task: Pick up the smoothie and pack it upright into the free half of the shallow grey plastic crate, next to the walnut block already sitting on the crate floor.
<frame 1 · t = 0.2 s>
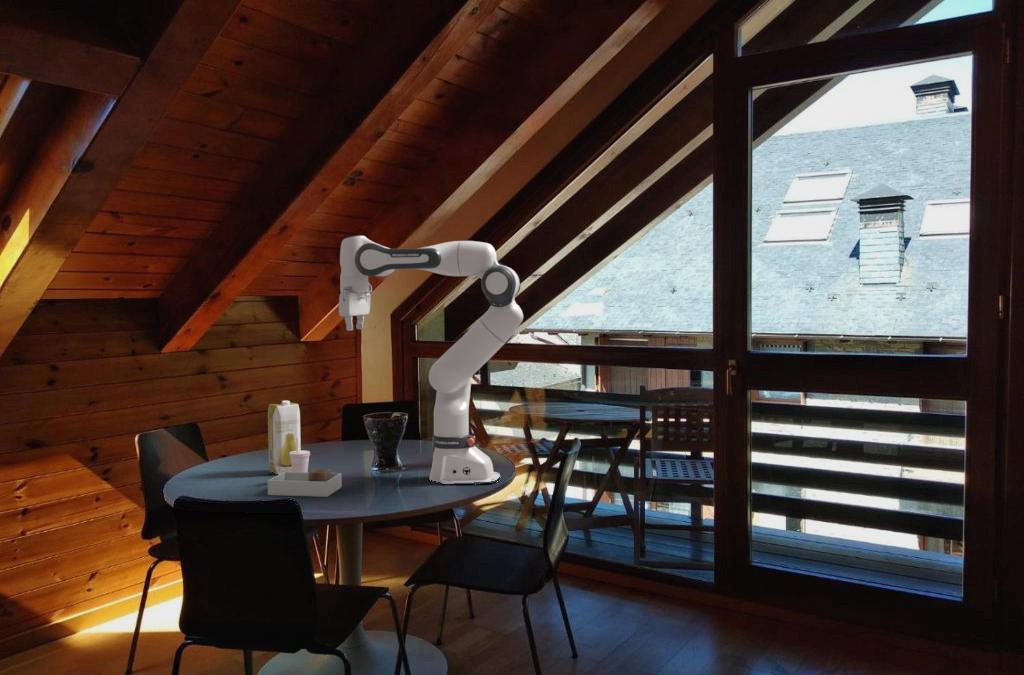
hand: (354, 329, 262), 47 cm above the table, tool pointing down, fingers open, 8 cm apart
smoothie: (300, 483, 256), on the table
crate: (305, 493, 242), on the table
walnut block: (320, 491, 242), point 1 cm above the table, touching crate
juice carton: (285, 472, 272), on the table
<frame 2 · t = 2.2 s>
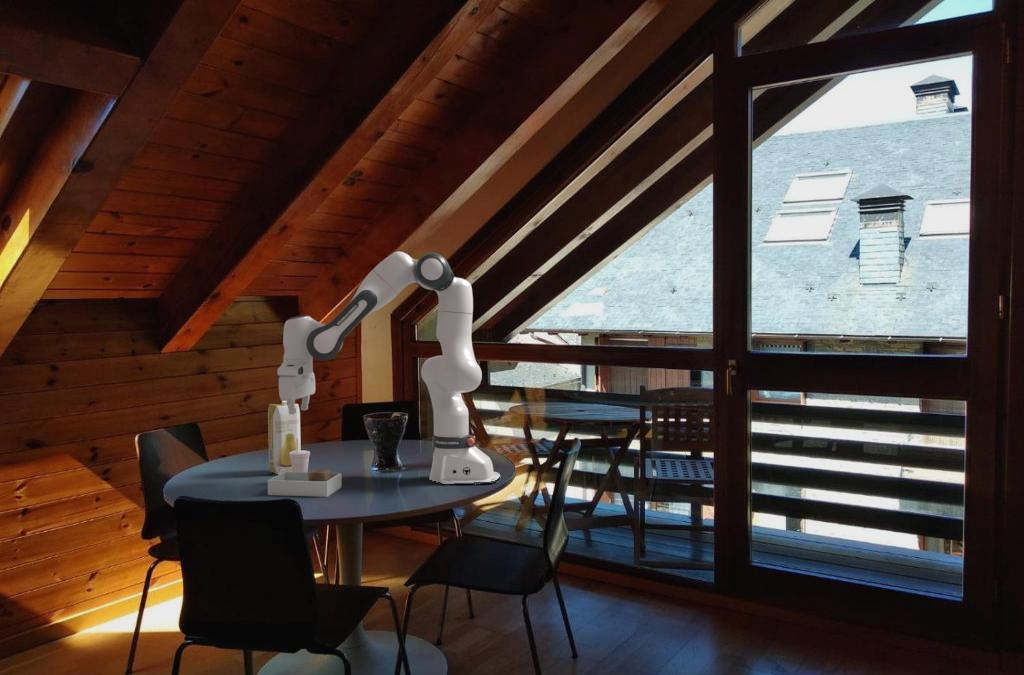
hand: (298, 412, 255), 22 cm above the table, tool pointing down, fingers open, 8 cm apart
nothing on the table moved.
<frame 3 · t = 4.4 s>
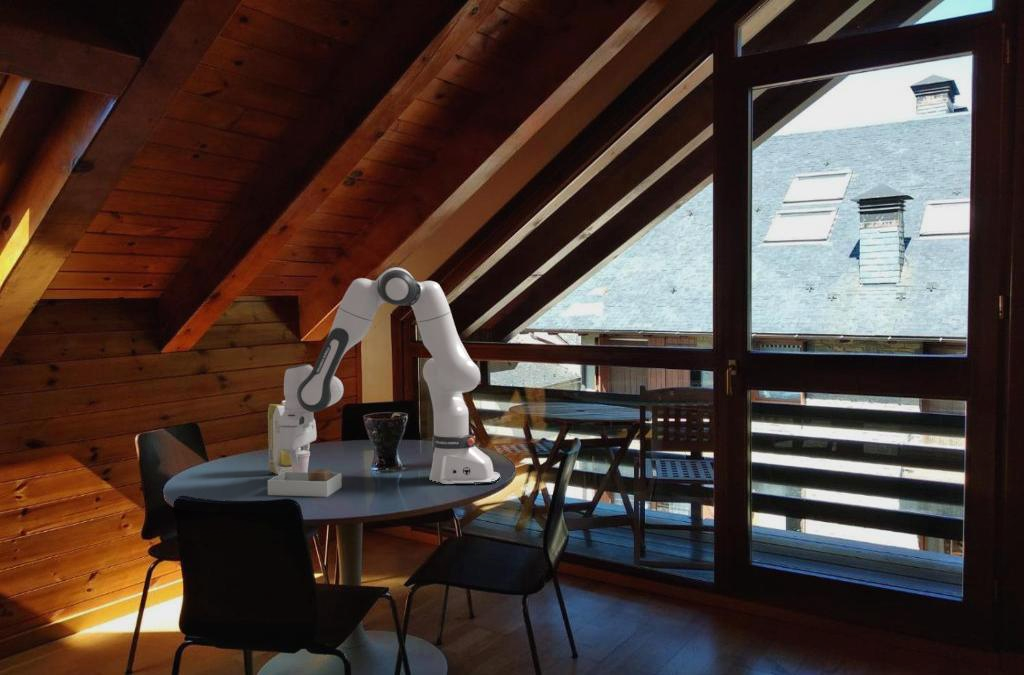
hand: (299, 460, 256), 7 cm above the table, tool pointing down, fingers closed on smoothie, 6 cm apart
smoothie: (300, 483, 256), on the table, touching gripper
everything else where it was.
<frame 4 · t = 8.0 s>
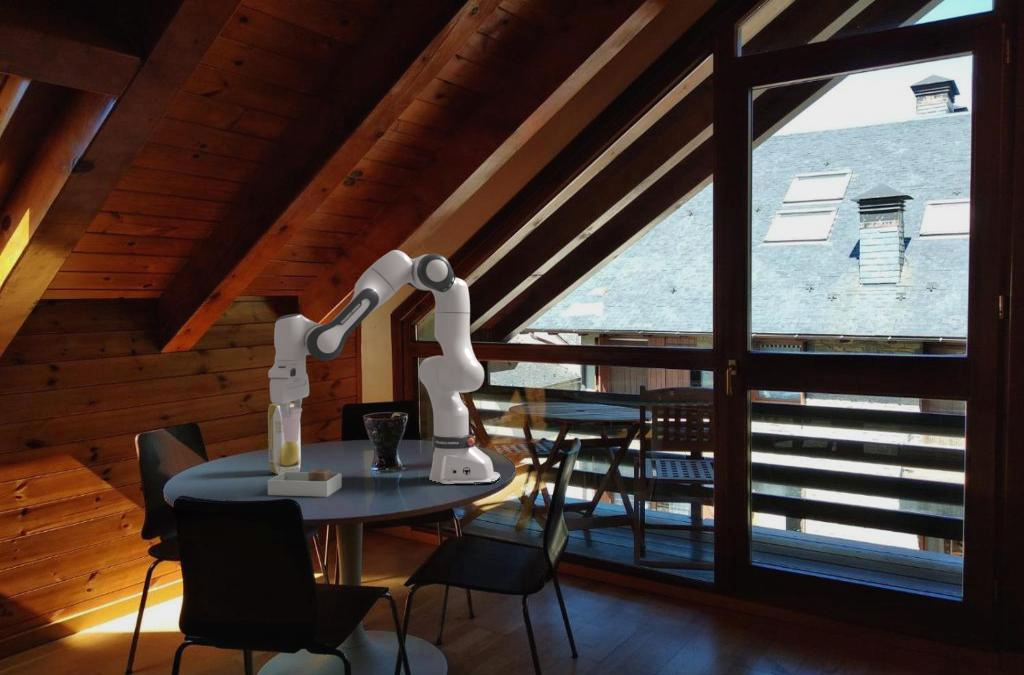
hand: (291, 415, 242), 23 cm above the table, tool pointing down, fingers closed on smoothie, 6 cm apart
smoothie: (291, 441, 242), point 15 cm above the table, touching gripper
everything else where it was.
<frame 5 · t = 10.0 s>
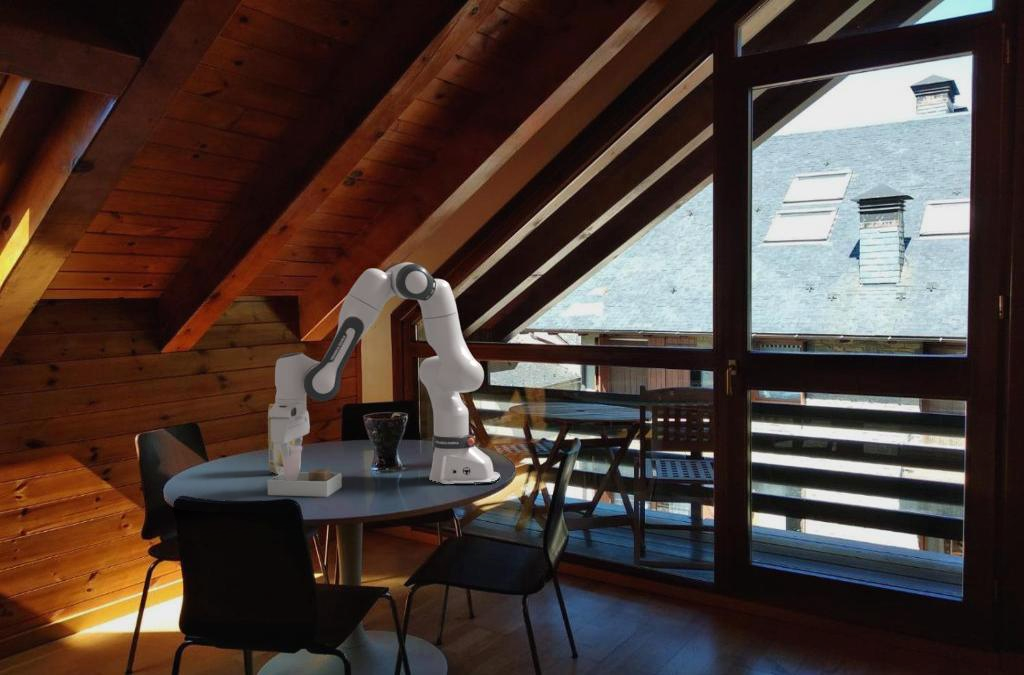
hand: (291, 454, 242), 12 cm above the table, tool pointing down, fingers closed on smoothie, 6 cm apart
smoothie: (291, 479, 242), point 4 cm above the table, touching gripper
everything else where it was.
when the fingers open (9 cm above the table, at t = 11.5 s): smoothie stays where it is, resting on crate.
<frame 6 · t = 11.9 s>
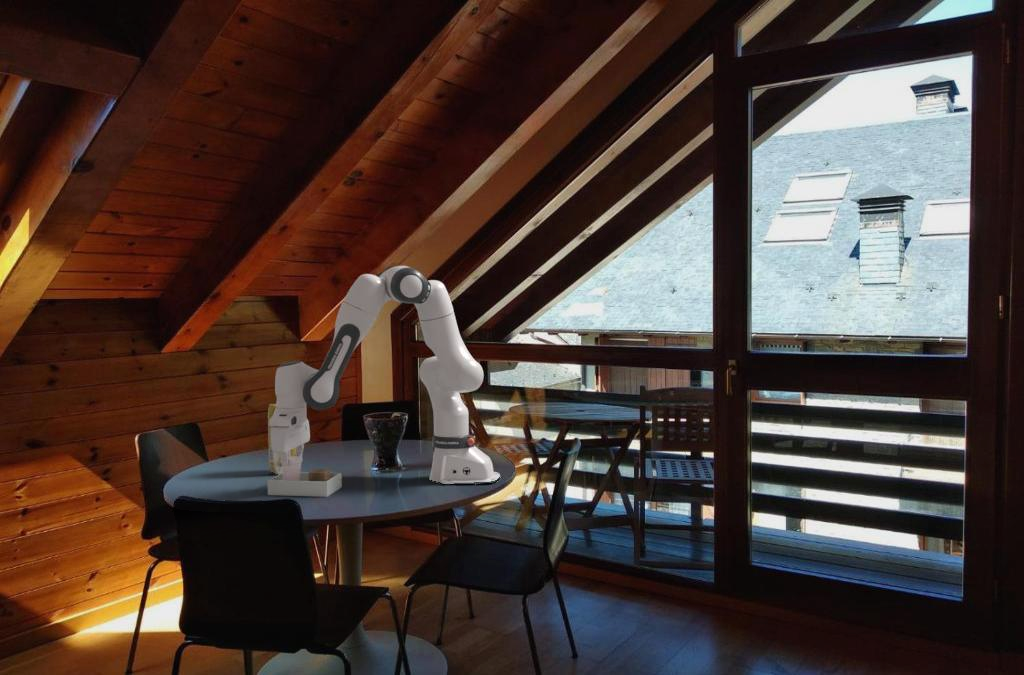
hand: (292, 462, 242), 9 cm above the table, tool pointing down, fingers open, 8 cm apart
smoothie: (292, 491, 243), point 1 cm above the table, touching crate
everything else where it was.
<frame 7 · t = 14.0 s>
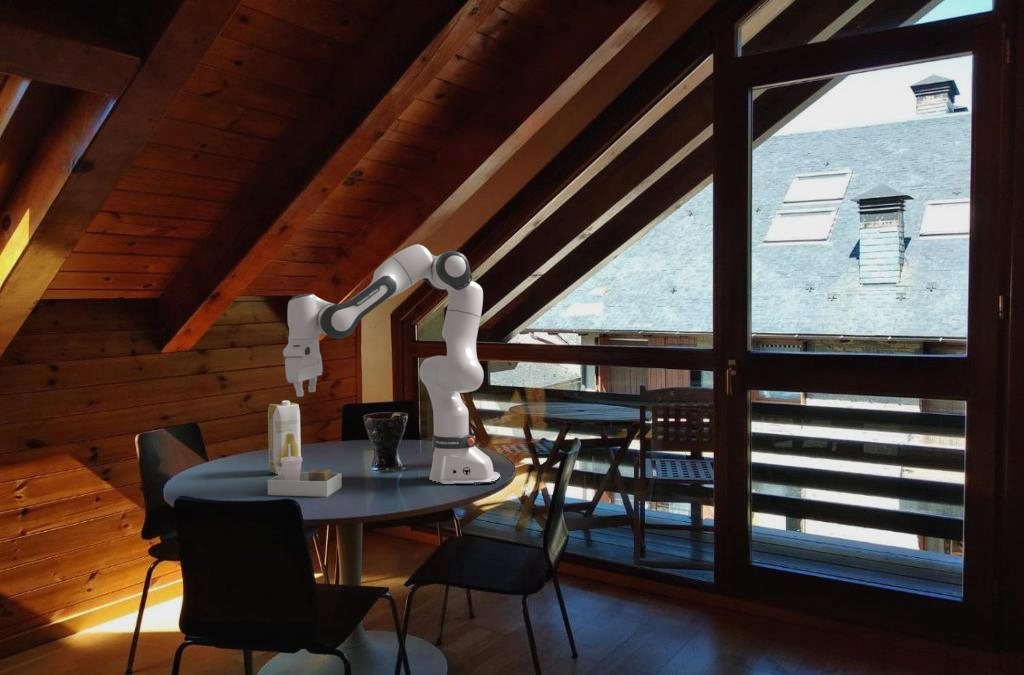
hand: (306, 394, 246), 29 cm above the table, tool pointing down, fingers open, 8 cm apart
nothing on the table moved.
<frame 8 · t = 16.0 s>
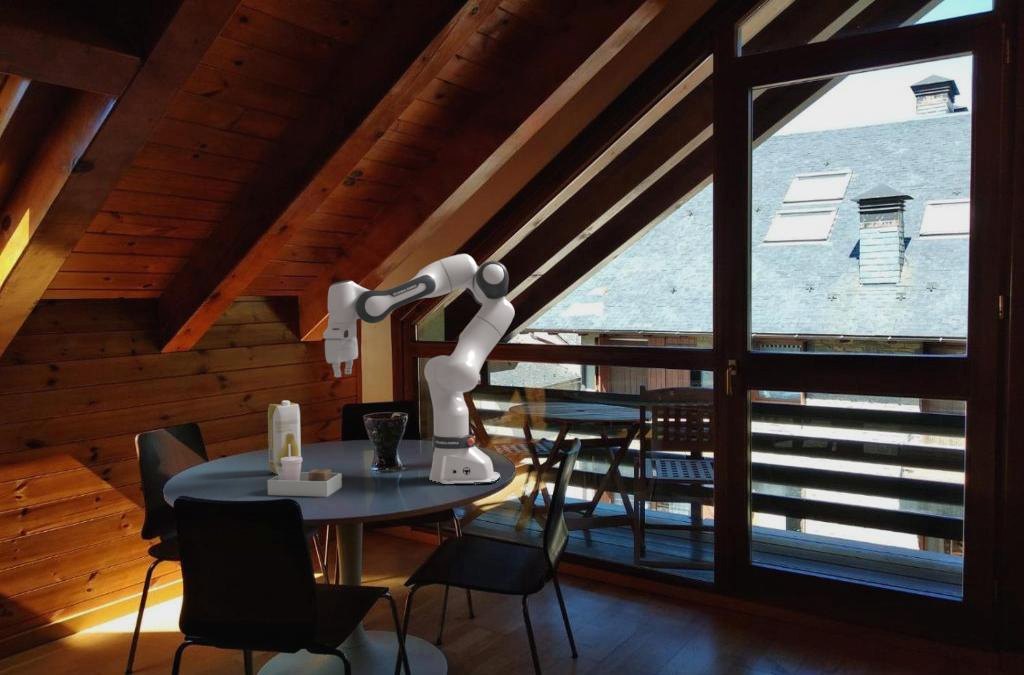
hand: (343, 375, 260), 33 cm above the table, tool pointing down, fingers open, 8 cm apart
nothing on the table moved.
at the end: smoothie inside the target area on the crate (0.4 cm from its centre), point 0.6 cm above the crate's base; smoothie tilted 0°; the gripper is holding nothing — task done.
